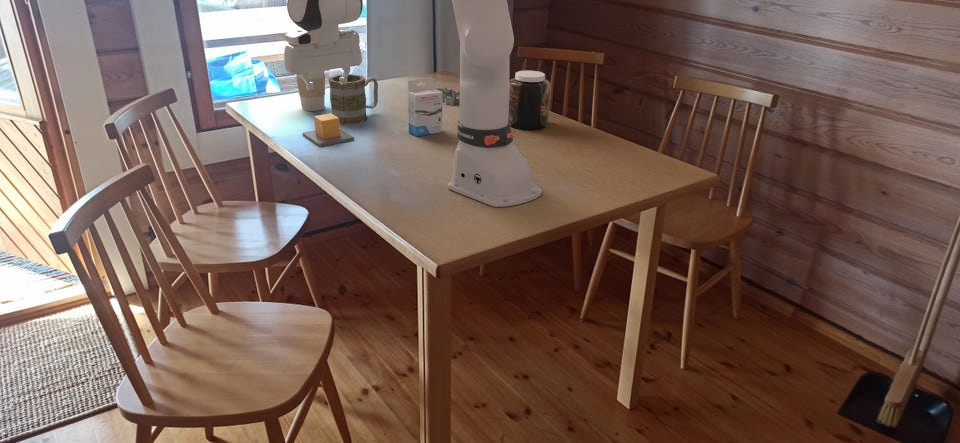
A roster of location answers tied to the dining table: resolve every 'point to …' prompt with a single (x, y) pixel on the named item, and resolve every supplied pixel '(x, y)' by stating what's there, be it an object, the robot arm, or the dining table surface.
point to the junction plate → (328, 141)
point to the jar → (529, 101)
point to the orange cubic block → (327, 126)
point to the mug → (351, 98)
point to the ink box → (424, 107)
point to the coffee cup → (312, 91)
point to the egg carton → (447, 96)
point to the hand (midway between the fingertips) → (327, 86)
